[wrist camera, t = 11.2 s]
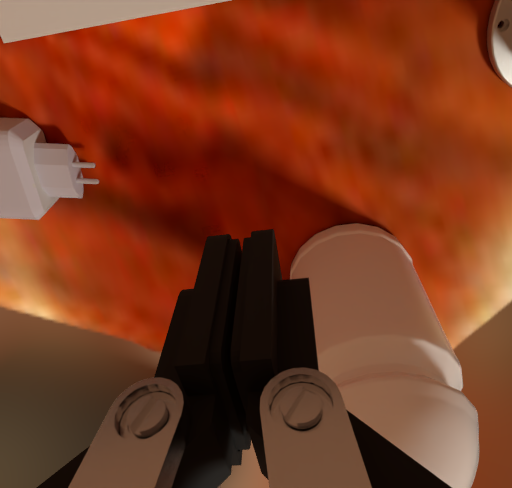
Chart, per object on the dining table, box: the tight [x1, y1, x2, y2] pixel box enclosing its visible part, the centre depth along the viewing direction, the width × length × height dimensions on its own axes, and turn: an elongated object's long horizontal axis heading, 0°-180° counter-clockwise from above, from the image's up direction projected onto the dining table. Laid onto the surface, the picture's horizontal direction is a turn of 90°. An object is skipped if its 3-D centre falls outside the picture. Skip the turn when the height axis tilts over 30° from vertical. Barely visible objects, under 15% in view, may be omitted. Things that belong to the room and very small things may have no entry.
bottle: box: [290, 223, 479, 488], centre depth 35 cm, size 14×14×28 cm
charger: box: [0, 118, 99, 220], centre depth 39 cm, size 5×9×15 cm
